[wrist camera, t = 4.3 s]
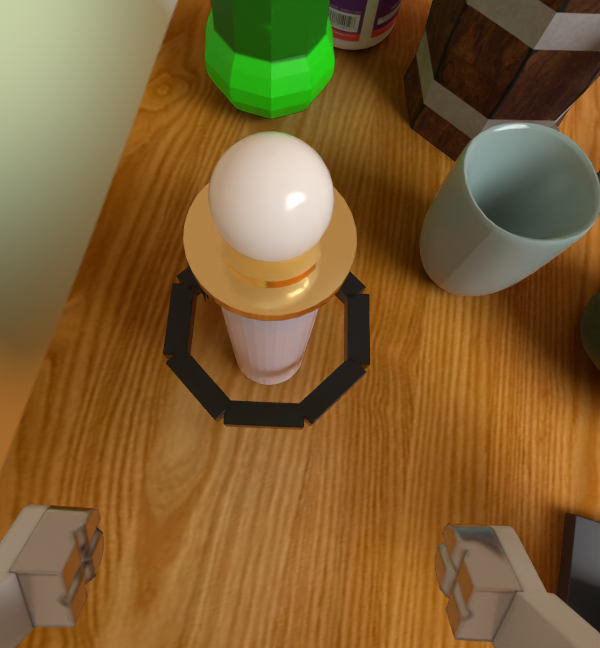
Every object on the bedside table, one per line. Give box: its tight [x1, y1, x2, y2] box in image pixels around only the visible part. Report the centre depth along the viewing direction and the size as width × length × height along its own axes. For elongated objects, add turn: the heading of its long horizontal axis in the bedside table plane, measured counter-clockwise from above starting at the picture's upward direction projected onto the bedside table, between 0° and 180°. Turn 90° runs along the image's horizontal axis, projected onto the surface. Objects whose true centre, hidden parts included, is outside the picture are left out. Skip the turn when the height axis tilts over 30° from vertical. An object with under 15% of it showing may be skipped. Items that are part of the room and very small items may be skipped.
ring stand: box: [163, 266, 370, 430], centre depth 28 cm, size 16×11×7 cm, turn 178°
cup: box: [419, 122, 600, 297], centre depth 29 cm, size 8×8×10 cm
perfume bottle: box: [183, 131, 357, 385], centre depth 21 cm, size 6×6×20 cm
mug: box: [404, 0, 600, 183], centre depth 30 cm, size 20×14×15 cm
